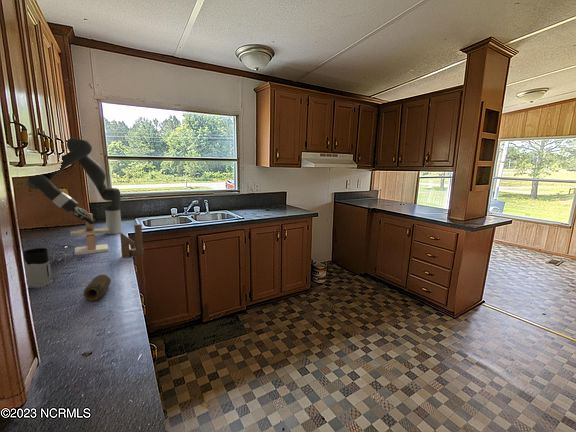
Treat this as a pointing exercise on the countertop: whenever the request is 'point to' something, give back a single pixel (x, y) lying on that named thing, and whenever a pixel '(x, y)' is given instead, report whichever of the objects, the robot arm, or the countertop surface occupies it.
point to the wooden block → (127, 241)
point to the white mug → (38, 266)
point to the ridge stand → (91, 246)
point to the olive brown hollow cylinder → (97, 287)
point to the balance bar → (89, 228)
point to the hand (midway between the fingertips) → (93, 222)
